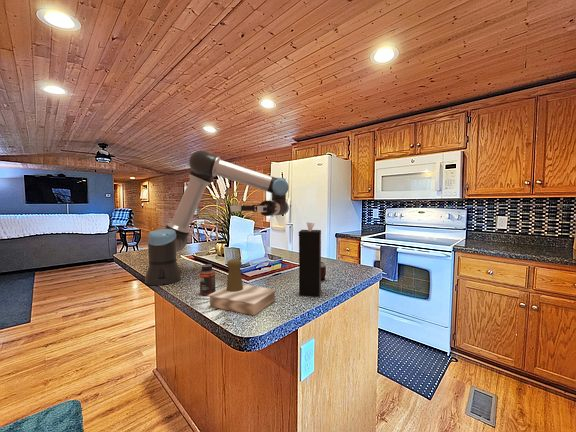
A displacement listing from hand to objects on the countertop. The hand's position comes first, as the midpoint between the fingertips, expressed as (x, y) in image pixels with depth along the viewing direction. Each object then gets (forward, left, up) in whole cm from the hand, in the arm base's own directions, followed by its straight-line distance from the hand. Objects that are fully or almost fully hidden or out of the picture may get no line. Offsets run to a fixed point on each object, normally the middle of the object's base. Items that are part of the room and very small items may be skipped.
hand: (244, 208), depth 111 cm
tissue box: (+28, +4, -34) cm, 44 cm away
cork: (+5, -14, -30) cm, 33 cm away
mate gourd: (+25, +22, -34) cm, 47 cm away
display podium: (+10, -16, -33) cm, 38 cm away
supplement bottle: (-9, -13, -34) cm, 37 cm away
